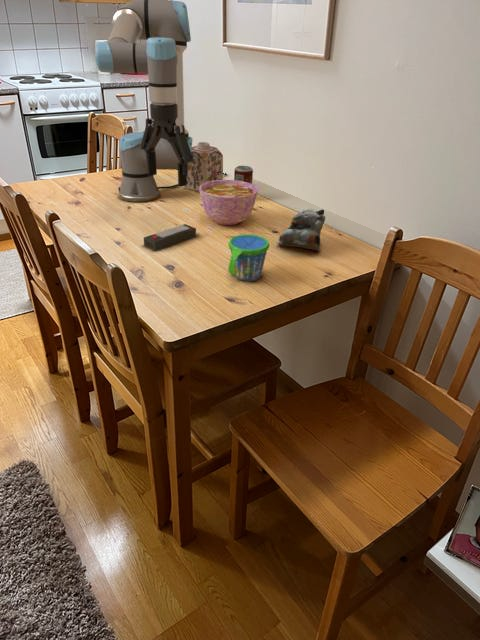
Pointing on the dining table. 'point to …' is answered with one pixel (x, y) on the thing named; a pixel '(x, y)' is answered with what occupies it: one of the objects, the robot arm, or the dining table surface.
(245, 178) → the soda can
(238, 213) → the bowl of food
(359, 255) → the dining table surface
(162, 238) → the tv remote
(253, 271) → the snack cup
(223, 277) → the dining table surface
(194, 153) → the decorative jar
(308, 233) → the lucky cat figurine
